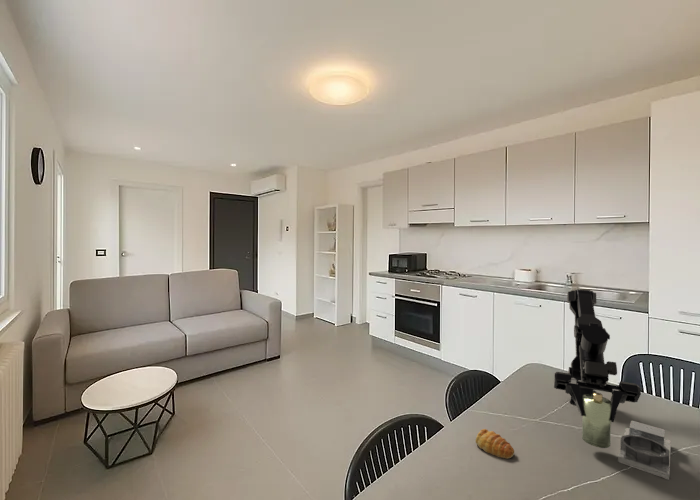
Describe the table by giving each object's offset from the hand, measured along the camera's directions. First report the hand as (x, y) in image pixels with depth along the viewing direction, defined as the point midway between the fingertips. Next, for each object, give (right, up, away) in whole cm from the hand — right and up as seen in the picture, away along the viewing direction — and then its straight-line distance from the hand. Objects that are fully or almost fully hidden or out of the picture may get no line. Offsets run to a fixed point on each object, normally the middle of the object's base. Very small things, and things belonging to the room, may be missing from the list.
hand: (597, 418), depth 89 cm
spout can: (+1, -7, +1) cm, 7 cm away
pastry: (-25, -10, +4) cm, 27 cm away
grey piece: (+13, -10, +1) cm, 16 cm away
